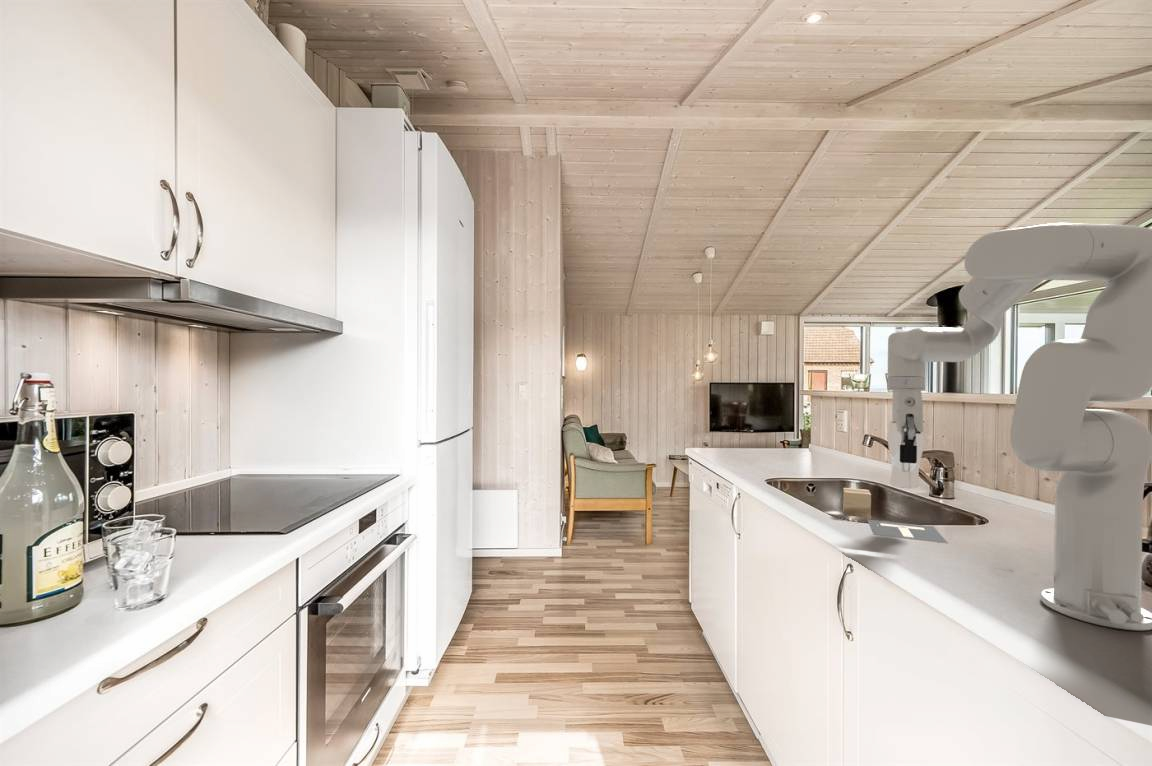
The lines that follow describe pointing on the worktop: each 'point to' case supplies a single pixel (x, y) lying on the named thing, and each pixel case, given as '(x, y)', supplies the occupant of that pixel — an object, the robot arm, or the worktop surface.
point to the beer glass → (903, 472)
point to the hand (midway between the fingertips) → (905, 459)
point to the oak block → (857, 502)
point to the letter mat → (906, 531)
